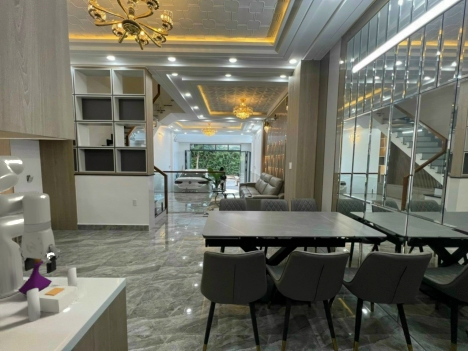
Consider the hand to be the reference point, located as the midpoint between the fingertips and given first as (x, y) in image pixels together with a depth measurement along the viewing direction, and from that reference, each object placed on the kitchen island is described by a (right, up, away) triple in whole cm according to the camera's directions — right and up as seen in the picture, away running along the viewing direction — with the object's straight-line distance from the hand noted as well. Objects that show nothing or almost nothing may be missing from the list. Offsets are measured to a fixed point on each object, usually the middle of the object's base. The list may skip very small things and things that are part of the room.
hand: (40, 270), depth 83 cm
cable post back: (+7, -12, +7) cm, 16 cm away
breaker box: (+6, -13, 0) cm, 14 cm away
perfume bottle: (-8, -13, +7) cm, 17 cm away
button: (+6, -12, 0) cm, 13 cm away
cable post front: (+5, -13, -8) cm, 16 cm away
